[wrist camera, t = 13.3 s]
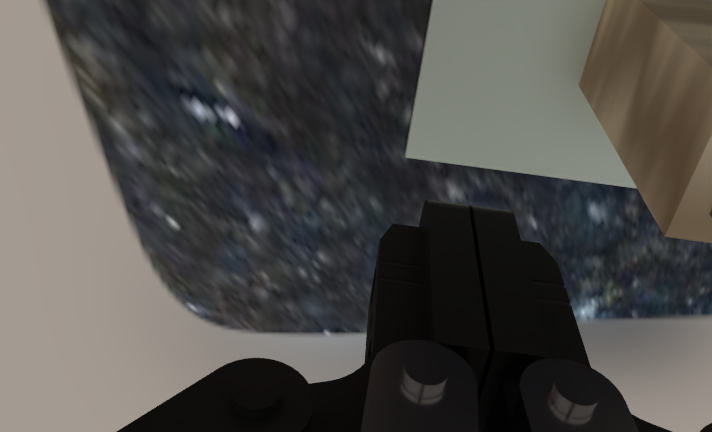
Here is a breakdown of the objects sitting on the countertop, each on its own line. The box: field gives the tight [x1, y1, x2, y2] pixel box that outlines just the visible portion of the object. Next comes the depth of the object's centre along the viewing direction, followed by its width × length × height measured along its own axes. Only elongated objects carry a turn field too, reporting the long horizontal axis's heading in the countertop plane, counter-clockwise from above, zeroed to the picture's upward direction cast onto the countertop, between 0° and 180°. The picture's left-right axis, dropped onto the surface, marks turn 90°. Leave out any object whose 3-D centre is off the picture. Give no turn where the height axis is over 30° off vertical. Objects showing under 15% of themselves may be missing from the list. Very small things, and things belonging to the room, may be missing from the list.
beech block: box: [579, 0, 712, 243], centre depth 20 cm, size 4×4×10 cm
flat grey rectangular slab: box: [405, 0, 637, 188], centre depth 24 cm, size 12×18×1 cm, turn 83°
